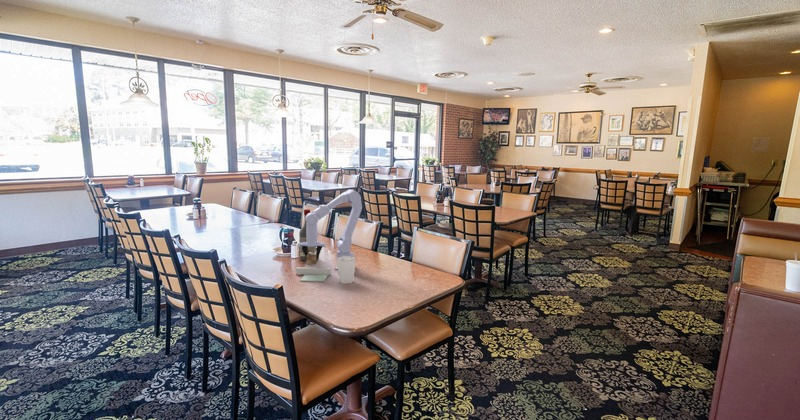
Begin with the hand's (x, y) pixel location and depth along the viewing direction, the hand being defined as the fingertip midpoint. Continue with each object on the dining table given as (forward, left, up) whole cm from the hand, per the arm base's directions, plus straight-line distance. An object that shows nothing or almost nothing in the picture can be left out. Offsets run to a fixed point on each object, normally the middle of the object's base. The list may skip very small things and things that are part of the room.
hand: (312, 259), depth 205 cm
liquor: (+8, -22, -6) cm, 25 cm away
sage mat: (-4, +13, -6) cm, 15 cm away
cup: (-21, +17, -6) cm, 27 cm away
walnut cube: (0, 0, -2) cm, 2 cm away
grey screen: (-2, +7, -6) cm, 9 cm away
